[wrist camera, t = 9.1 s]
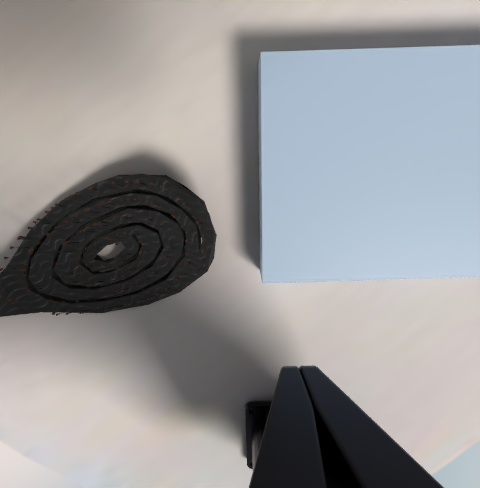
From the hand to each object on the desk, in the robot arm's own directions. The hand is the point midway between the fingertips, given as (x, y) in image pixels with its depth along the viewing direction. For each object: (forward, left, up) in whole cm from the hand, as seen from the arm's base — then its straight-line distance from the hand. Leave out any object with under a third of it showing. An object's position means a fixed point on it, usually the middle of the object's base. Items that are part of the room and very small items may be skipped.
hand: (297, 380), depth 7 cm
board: (+4, -8, -12) cm, 15 cm away
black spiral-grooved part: (-2, +15, -13) cm, 19 cm away
